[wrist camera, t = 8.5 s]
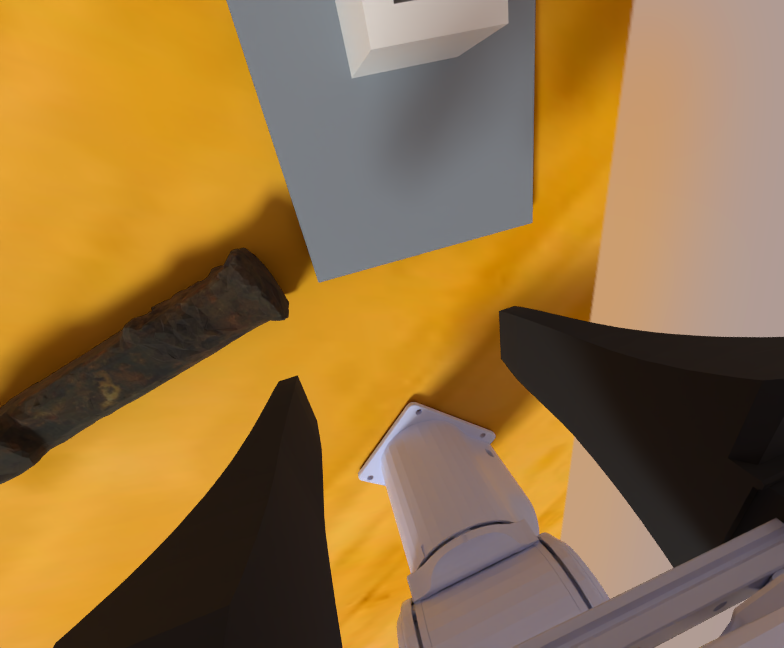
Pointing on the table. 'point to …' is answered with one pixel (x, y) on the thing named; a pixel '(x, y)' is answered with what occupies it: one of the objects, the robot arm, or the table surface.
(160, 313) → the hand tool
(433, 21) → the hollow square block
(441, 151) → the plate
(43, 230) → the table surface
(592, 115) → the table surface
